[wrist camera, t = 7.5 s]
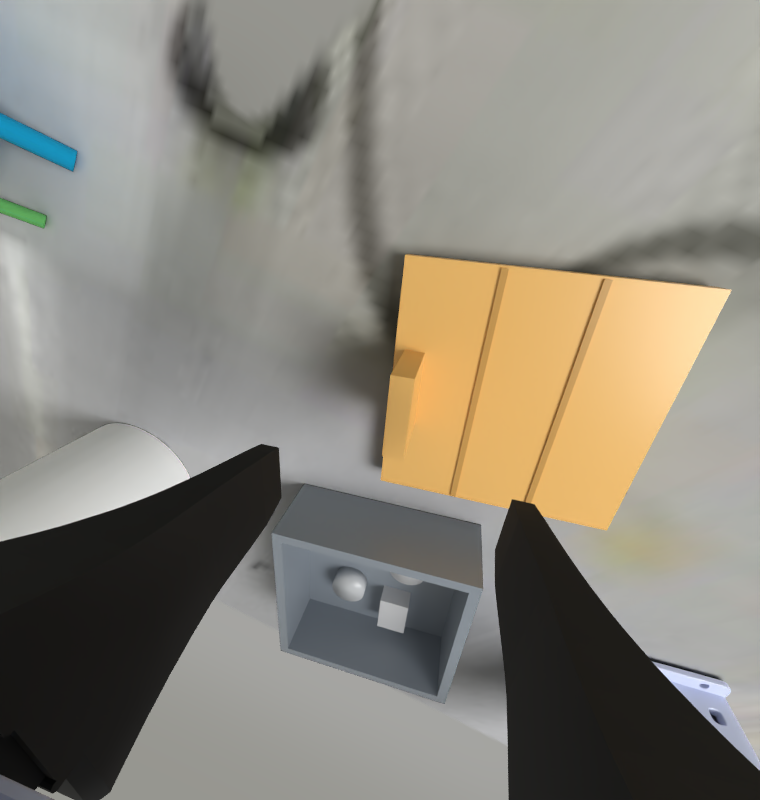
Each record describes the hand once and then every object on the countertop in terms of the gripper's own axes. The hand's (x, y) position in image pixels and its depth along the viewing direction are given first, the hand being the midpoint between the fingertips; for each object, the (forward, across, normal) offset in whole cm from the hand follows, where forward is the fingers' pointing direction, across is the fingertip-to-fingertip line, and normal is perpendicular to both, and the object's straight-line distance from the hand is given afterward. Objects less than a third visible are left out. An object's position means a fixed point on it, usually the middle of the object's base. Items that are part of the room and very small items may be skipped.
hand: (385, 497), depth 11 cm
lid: (+9, -5, 0) cm, 10 cm away
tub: (+9, +1, +15) cm, 18 cm away
